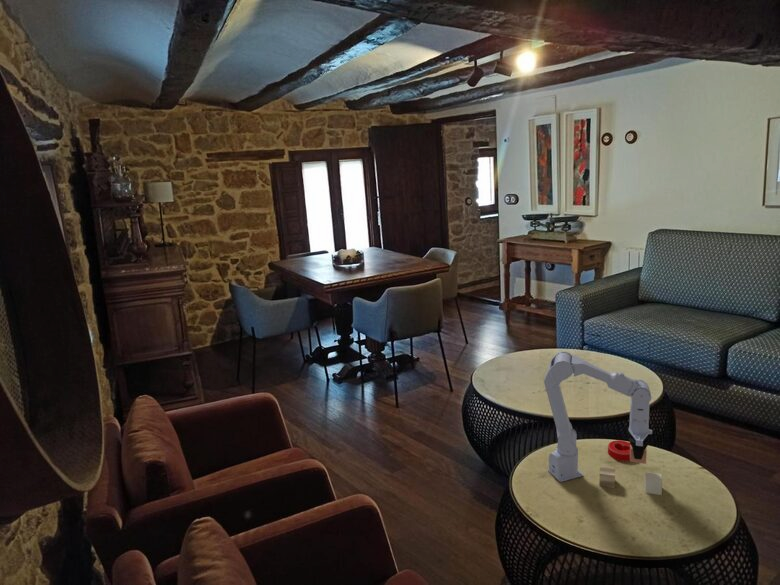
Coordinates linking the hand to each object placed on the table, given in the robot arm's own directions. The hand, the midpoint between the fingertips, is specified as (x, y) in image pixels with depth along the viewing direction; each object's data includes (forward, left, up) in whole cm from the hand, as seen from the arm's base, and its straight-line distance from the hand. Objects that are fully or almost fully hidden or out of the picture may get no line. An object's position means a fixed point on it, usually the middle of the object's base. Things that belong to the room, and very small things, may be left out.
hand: (637, 454), depth 180 cm
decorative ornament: (+7, +15, -11) cm, 20 cm away
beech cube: (-9, +3, -10) cm, 14 cm away
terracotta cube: (0, 0, -2) cm, 2 cm away
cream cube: (+1, -6, -10) cm, 12 cm away
